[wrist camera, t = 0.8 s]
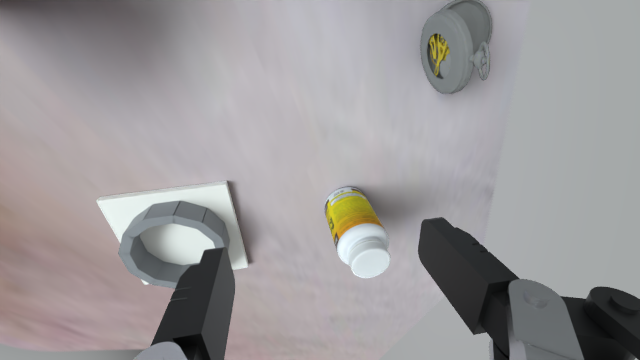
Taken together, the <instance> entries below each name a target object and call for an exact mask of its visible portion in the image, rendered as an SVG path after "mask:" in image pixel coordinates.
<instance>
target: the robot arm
mask: <svg viewBox="0 0 640 360" xmlns="http://www.w3.org/2000/svg"><path fill="white" fill-rule="evenodd" d="M418 254H419V258H420V261H421V263H422V264H423V266H424V267H425V268H426V270H427V271H428V273H429V274H430V275H431V277H432V278H433V279H434V281H435V282H436V284H437V285H438V286H439V288H440V289H441V291H442V292H443V293H444V295H445V296H446V297H447V299H448V300H449V302H450V303H451V304H452V306H453V307H454V308H455V310H456V311H457V313H458V314H459V315H460V317H461V318H462V319H463V321H464V322H465V324H466V325H467V326H468V327H469V329H470V330H471V332H472V333H473V334H474V335H475V334H480V333H485V332H487V333H488V334H489V336H490V337H491V340H490V344H489V350H490V360H634V359H635V358H637V359H638V360H640V299H638V298H637V297H635V296H633V295H631V294H628V293H626V292H624V291H620V290H617V289H614V288H610V287H595V288H593V289H592V290H591V291H590V293H589V295H588V297H587V299H582V298H573V297H572V298H571V297H562V296H559V295H558V294H557V293H556V292H555V291H553V290H552V289H550V288H548V287H547V286H545V285H543V284H541V283H538V282H535V281H532V280H527V279H519V278H518V277H517V276H516V275H515V274H514V273H513V272H511V271H510V270H509V269H508V268H507V267H506V266H505V265H504V264H503V263H501V262H500V261H499V260H498V259H497V258H496V257H494V255H492V254H491V253H490V252H488V251H487V249H486V248H485V247H484V246H482V245H480V244H479V242H478V241H477V240H476V239H475V238H473V237H472V236H471V235H470V234H468V233H467V232H465V231H463V230H461V229H459V228H457V227H456V228H454V227H453V226H452V225H451V224H450V223H449V222H448V221H447V220H446V219H444V218H442V217H440V218H433V219H425V220H423V221H422V224H421V232H420V239H419V246H418ZM234 294H235V279H234V274H233V270H232V266H231V262H230V258H229V254H228V250H227V248H226V247H220V248H213V249H206V250H204V252H203V255H202V257H201V260H200V263H199V264H198V265H191V266H190V267H189V268H188V269H187V270H186V271H185V272H184V273H183V274H182V275H181V276H180V278H179V281H178V283H177V285H176V288H175V292H173V295H172V297H171V299H170V300H171V302H169V304H168V307H167V309H166V311H165V314H164V316H163V318H162V321H161V323H160V325H159V328H158V330H157V332H156V335H155V337H154V339H153V342H152V344H151V346H150V347H149V348H147V349H145V350H144V351H142V352H141V353H140V354H139V355H137V356H136V357H135V358H134V359H133V360H224V356H225V350H226V343H227V337H228V331H229V325H230V319H231V313H232V307H233V301H234Z"/></svg>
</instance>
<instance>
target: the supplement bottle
mask: <svg viewBox="0 0 640 360" xmlns="http://www.w3.org/2000/svg"><path fill="white" fill-rule="evenodd" d="M324 210H325V214H326V218H327V221H328V224H329V227H330V230H331V234H332V237H333V240H334V243H335V246H336V249H337V253H338V255H339V257H340V259H341V260H342V261H343V262H344V263H346V264H348V265H350V267H351V269H352V272H353V273H354V274H355V275H356V276H358V277H361V278H371V277H375V276H377V275H379V274H381V273H382V272H384V271H385V270H386V269H387V267H388V266H389V264H390V259H391V258H390V254H389V252H388V251H387V249H388V246H389V237H388V234H387V232H386V231H385V229H384V227H383V226H382V224H381V222H380V220H379V219H378V217H377V215H376V214H375V212H374V210H373V208H372V207H371V205H370V203H369V202H368V200H367V198H366V197H365V195H364V194H363V193H362V192H361V191H360V190H358V189H356V188H353V187H344V188H340V189H338V190H336V191H334V192H333V193H332V194H331V195H330V196H329V197H328V198H327V200H326V202H325V207H324Z"/></svg>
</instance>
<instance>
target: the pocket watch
mask: <svg viewBox="0 0 640 360" xmlns="http://www.w3.org/2000/svg"><path fill="white" fill-rule="evenodd" d="M491 32H492V20H491V16H490V12H489V10H488V9H487V7H486V6H485V5H484V4H483V3H482V2H481V1H479V0H455V1H453V2H451V3H449V4H447V5H446V6H445V7H444V8H442V9H441V10H440V11H439V12H437V13H435V14H434V15H433V16H431V17H430V18H429V19H428V20H427V22H426V23H425V25H424V28H423V31H422V36H421V59H422V64H423V68H424V71H425V73H426V76H427V78H428V80H429V82H430V83H431V85H432V86H433V87H434V88H435V89H436V90H437V91H438V92H440V93H443V94H451V93H455V92H458V91H460V90H462V89H463V88H464V87H465V86H466V85H467V83H468V81H469V79H470V77H471V73H472V69H473V66H475V67H476V68H477V69H478V70H479V75H480V78H481V79H482V80H485V79H486V78H487V76H488V73H489V69H490V53H489V48H488V43H489V40H490V37H491ZM484 52H486V56H485V53H484ZM486 63H487V65H486V72H485V75H483V72H482V68H481V67H482V66H483V65H484V64H486Z"/></svg>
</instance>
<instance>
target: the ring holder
mask: <svg viewBox="0 0 640 360" xmlns="http://www.w3.org/2000/svg"><path fill="white" fill-rule="evenodd" d="M96 202H97V204H98V205H99V207H100V209H101V210H102V212H103V214H104V216H105V217H106V219H107V221H108V223H109V224H110V226H111V228H112V229H113V231H114V233H115V235H116V236H117V238H118V240H119V242H120V243H121V244H120V248H119V252H118V253H119V256H120V258H121V259H122V261H123V263H124V264H125V266H126V268H127V269H128V271H129V272H130V273H131V274H133V275H135V276H137V277H138V278H140V279H141V280H142V281H143V283H144V285H146V284H152V285H156V286H163V287H169V288H176V285H177V283H178V281H179V278H180V276H181V275H182V274H183V273H184V272H185V271H186V270H187V269H188V268H189V267H190V266H191V265H198V264H199V263H200V260H201V257H202V255H203V252H204V250H206V249H213V248H220V247H226V248H227V250H228V254H229V258H230V262H231V266H232V270H235V269H240V268H246V267H248V259H247V255H246V251H245V248H244V244H243V240H242V236H241V232H240V229H239V225H238V221H237V217H236V213H235V209H234V206H233V202H232V198H231V194H230V190H229V187H228V183H227V181H220V182H213V183H205V184H197V185H189V186H181V187H173V188H165V189H157V190H149V191H141V192H134V193H126V194H118V195H110V196H102V197H99V198H98V199H97V200H96Z"/></svg>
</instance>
